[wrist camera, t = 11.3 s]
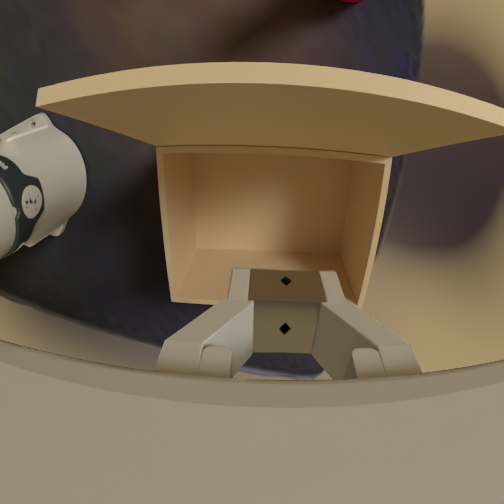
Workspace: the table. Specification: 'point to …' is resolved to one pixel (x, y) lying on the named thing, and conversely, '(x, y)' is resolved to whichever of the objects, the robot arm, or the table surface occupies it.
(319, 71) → the carton lid
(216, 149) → the carton
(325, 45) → the table surface
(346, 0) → the pepper mill
